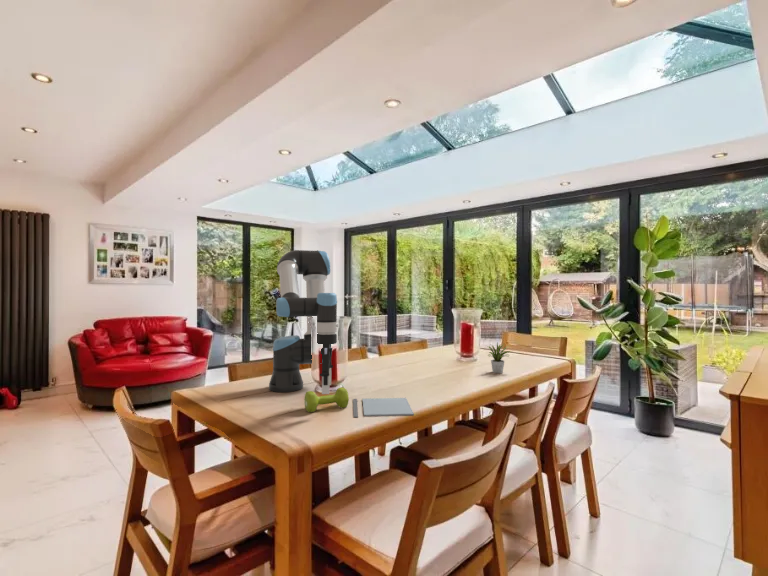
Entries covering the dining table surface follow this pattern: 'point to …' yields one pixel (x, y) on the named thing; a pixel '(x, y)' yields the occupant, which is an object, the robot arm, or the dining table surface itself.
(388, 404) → the mat
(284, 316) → the robot arm
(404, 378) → the dining table surface
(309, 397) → the dumbbell
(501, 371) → the house plant
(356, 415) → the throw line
